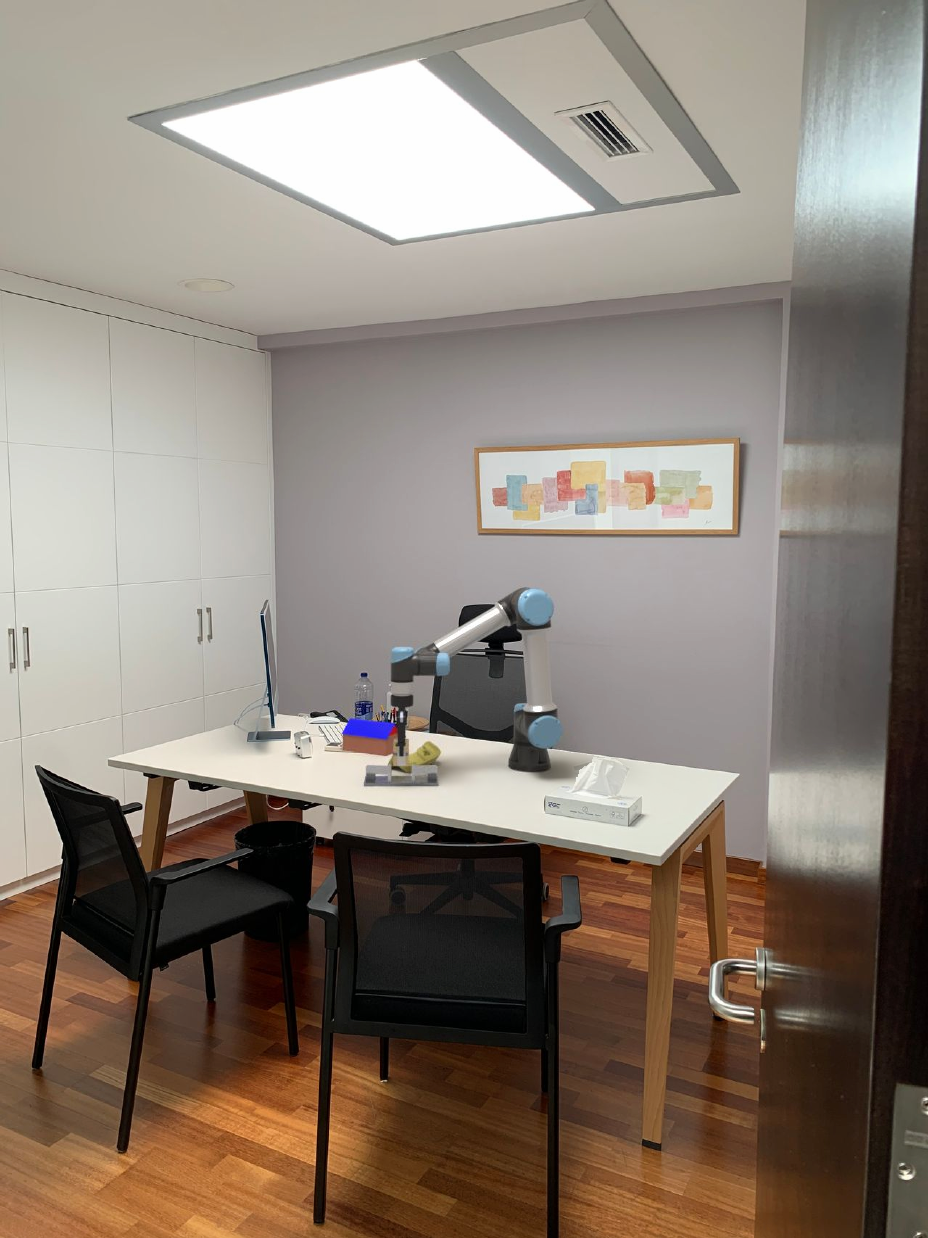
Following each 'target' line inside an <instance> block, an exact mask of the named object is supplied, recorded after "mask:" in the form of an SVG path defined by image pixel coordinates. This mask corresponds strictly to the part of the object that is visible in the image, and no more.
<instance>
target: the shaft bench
mask: <svg viewBox="0 0 928 1238" xmlns="http://www.w3.org/2000/svg"><path fill="white" fill-rule="evenodd" d="M387 765H388V764H387ZM387 765H382V764H381V765H379V764H378V765H375V764H367V765H366V766H365V776H364V781H363V782H364V783H363V787H439V776H438V765H436V764H430V765H420V766H415V764H412V773H411V775H392V769H393V768H392V764H389V765H388V766H387Z"/></svg>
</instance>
